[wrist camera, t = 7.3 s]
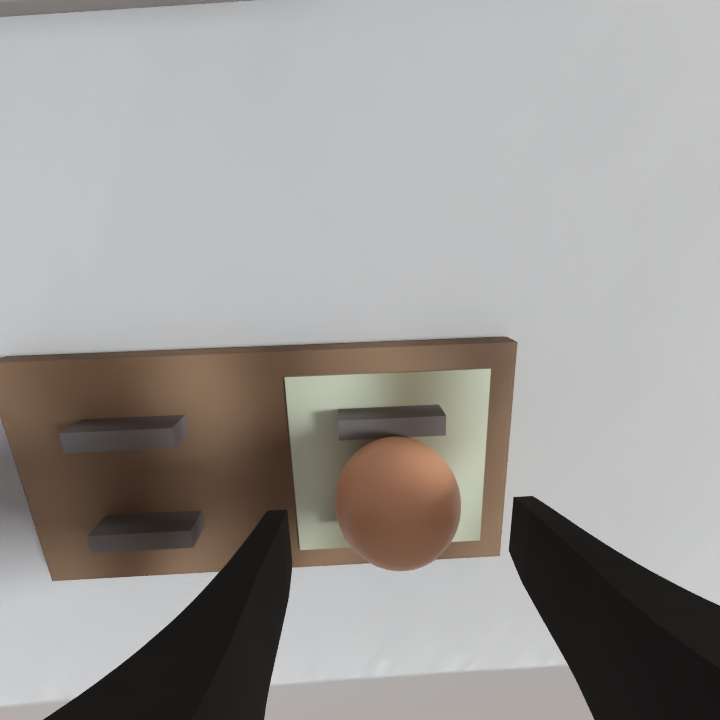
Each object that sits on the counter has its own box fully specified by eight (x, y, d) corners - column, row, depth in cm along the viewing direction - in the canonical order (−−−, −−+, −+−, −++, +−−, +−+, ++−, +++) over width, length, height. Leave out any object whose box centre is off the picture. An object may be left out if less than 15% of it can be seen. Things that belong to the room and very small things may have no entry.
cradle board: (68, 562, 17) (29, 605, 15) (8, 356, 15) (-50, 372, 13) (491, 539, 18) (511, 577, 16) (506, 336, 15) (532, 349, 13)
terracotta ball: (381, 529, 16) (394, 626, 12) (314, 461, 15) (301, 541, 11) (463, 470, 15) (508, 551, 11) (398, 395, 14) (421, 453, 10)
